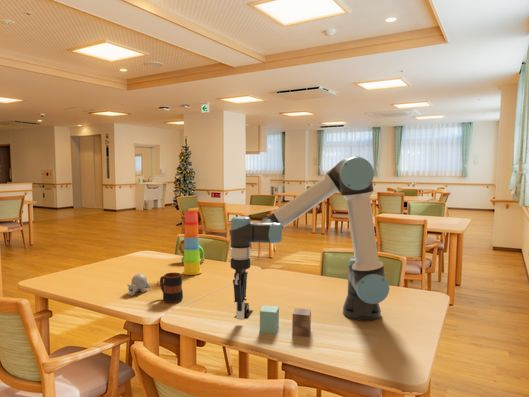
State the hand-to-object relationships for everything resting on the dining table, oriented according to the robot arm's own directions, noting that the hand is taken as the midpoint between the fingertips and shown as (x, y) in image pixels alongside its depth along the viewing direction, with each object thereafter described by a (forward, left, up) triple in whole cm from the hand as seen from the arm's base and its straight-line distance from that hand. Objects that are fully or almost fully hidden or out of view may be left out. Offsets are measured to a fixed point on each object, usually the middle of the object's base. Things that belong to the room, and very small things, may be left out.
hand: (240, 317), depth 153 cm
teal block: (-12, +3, -2) cm, 12 cm away
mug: (+38, -19, -3) cm, 43 cm away
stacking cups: (+45, -62, -3) cm, 77 cm away
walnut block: (-24, +3, -2) cm, 24 cm away
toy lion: (+55, -85, -3) cm, 102 cm away
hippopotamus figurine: (+57, -24, -3) cm, 62 cm away
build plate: (+1, -10, -3) cm, 11 cm away
